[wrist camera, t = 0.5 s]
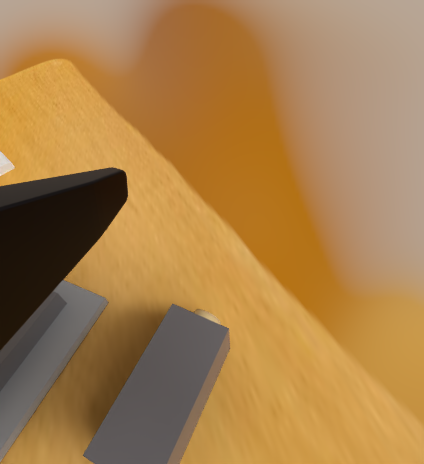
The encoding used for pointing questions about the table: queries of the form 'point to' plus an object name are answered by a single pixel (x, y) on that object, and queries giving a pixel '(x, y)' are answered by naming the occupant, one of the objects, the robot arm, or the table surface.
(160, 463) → the block
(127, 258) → the table surface
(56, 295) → the tray
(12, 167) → the external hard drive
